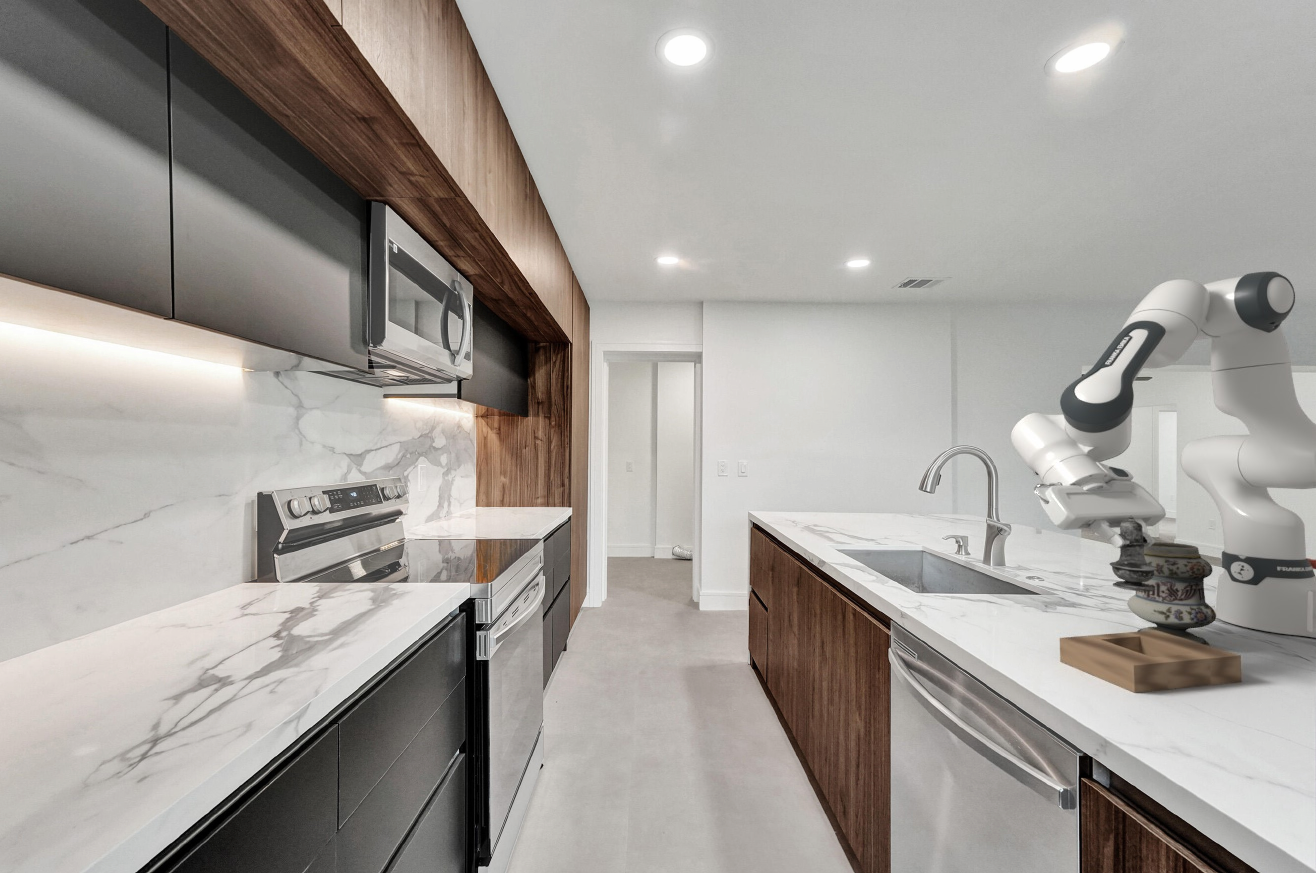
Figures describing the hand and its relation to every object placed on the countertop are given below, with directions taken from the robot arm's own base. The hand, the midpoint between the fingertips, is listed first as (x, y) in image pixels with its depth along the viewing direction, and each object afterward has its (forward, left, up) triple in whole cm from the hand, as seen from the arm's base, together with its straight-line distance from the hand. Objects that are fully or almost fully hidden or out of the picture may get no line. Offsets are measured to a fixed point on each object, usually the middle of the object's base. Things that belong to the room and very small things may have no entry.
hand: (1136, 545), depth 88 cm
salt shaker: (0, -1, -7) cm, 7 cm away
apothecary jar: (-20, -10, -20) cm, 30 cm away
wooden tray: (0, +1, -20) cm, 20 cm away
